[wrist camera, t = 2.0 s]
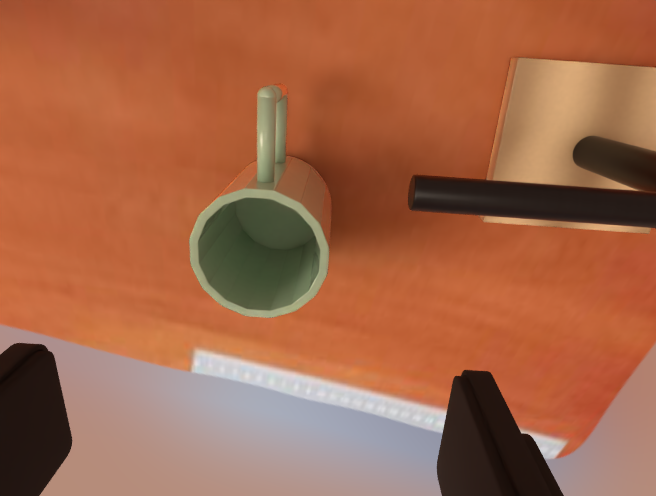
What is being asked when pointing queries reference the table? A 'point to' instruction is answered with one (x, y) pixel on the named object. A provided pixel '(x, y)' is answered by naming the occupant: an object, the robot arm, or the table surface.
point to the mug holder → (563, 151)
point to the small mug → (266, 226)
